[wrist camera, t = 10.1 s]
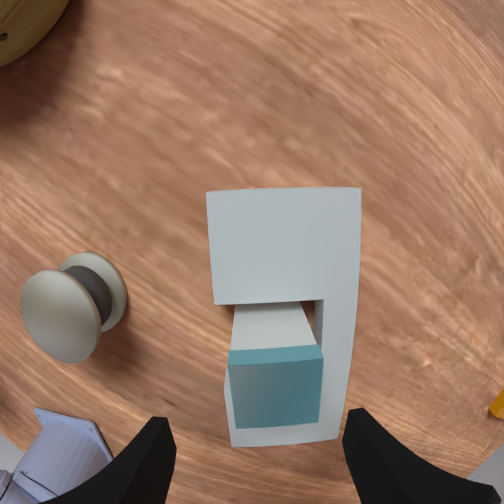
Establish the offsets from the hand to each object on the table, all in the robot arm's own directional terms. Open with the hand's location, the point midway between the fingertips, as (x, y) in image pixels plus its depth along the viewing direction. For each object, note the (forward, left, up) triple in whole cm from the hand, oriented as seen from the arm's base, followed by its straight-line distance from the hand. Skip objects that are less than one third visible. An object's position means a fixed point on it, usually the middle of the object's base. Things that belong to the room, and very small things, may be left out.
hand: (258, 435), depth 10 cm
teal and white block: (0, -1, -9) cm, 9 cm away
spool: (+3, +11, -9) cm, 15 cm away
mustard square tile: (-14, -32, -10) cm, 36 cm away
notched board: (0, -2, -9) cm, 9 cm away
